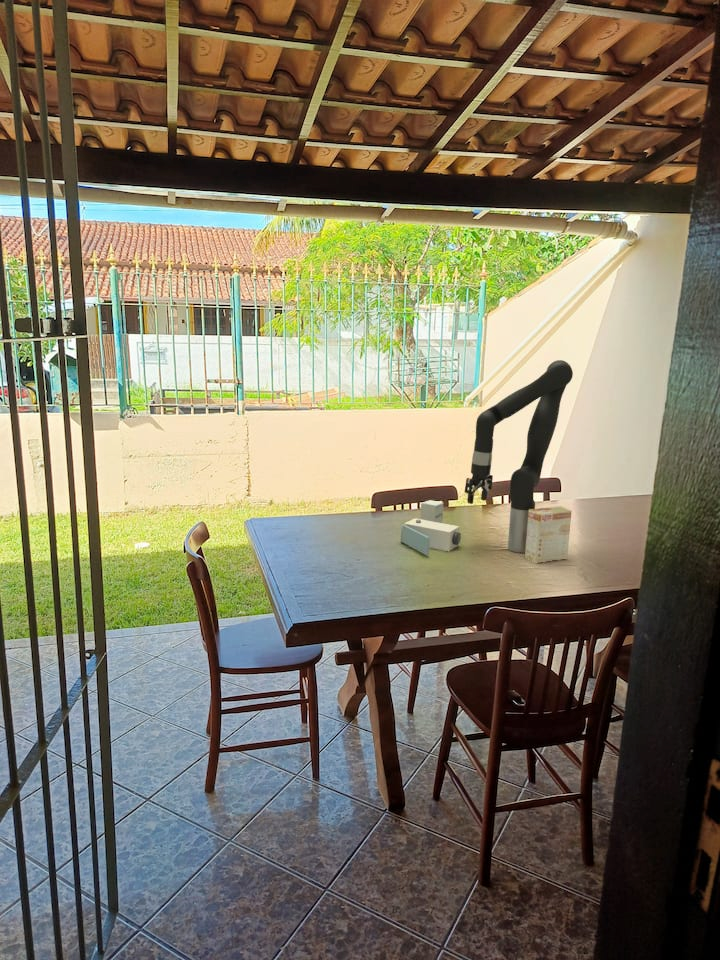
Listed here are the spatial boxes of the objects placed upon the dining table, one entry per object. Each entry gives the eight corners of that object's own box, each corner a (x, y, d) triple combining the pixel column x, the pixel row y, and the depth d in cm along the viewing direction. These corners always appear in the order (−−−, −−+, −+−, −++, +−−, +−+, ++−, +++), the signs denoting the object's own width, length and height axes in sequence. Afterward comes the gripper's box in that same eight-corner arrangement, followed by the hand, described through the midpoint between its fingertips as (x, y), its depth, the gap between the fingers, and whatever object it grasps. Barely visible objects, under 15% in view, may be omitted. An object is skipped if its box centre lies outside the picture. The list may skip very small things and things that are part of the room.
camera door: (429, 555, 238) (429, 537, 236) (426, 555, 237) (427, 537, 236) (402, 540, 255) (403, 523, 253) (400, 541, 254) (400, 524, 252)
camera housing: (461, 546, 251) (463, 525, 249) (452, 552, 243) (453, 530, 241) (414, 536, 262) (415, 516, 260) (403, 542, 255) (404, 521, 253)
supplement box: (434, 534, 266) (435, 505, 263) (419, 530, 270) (420, 502, 268) (442, 530, 272) (444, 502, 269) (428, 527, 276) (429, 499, 273)
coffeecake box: (555, 553, 244) (560, 505, 240) (567, 559, 238) (572, 510, 234) (523, 557, 239) (527, 508, 235) (535, 564, 233) (539, 513, 228)
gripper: (477, 466, 237) (473, 507, 241) (500, 462, 246) (495, 501, 251) (462, 462, 242) (458, 501, 247) (485, 458, 252) (480, 496, 256)
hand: (476, 501), depth 249 cm, fingers open, 8 cm apart
